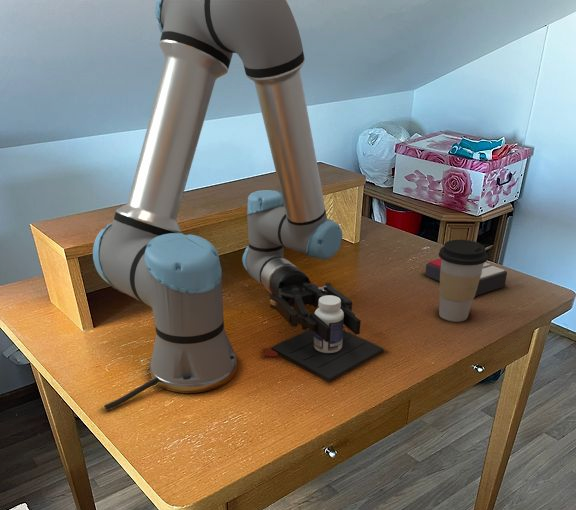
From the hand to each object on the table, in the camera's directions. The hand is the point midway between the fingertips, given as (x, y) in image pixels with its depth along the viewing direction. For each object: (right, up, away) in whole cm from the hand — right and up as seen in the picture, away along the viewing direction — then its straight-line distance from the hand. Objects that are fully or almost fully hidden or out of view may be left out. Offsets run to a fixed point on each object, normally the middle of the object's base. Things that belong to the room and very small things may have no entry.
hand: (343, 331), depth 105 cm
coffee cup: (+25, +5, +20) cm, 32 cm away
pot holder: (-4, -4, +7) cm, 9 cm away
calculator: (+31, +15, +35) cm, 49 cm away
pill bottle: (-2, -3, +7) cm, 8 cm away
